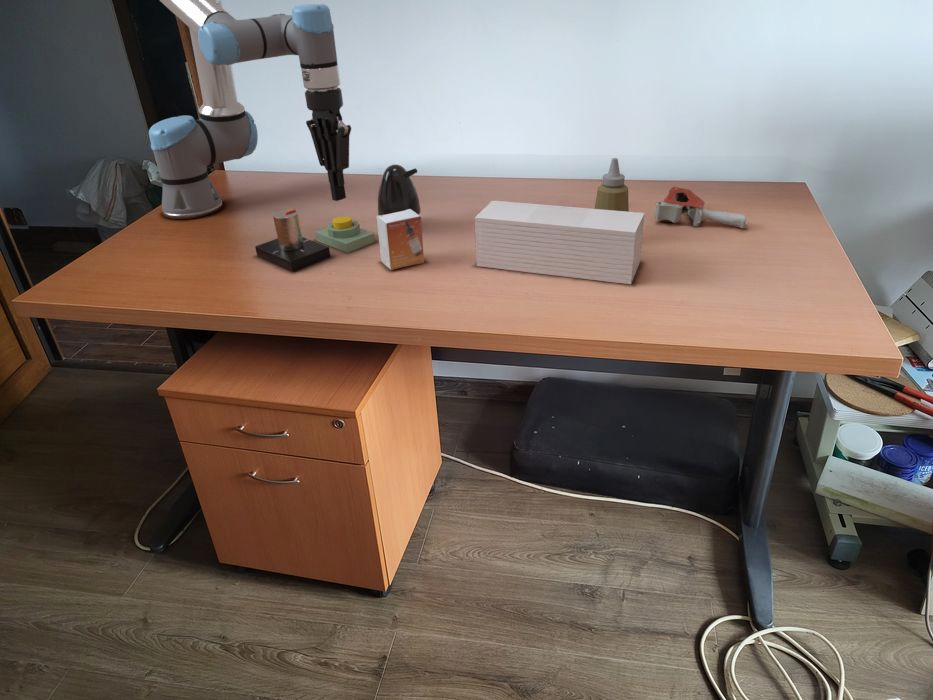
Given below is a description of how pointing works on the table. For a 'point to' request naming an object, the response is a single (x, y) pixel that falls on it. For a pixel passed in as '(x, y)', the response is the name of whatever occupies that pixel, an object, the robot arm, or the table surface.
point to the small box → (400, 239)
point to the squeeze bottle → (613, 190)
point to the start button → (342, 222)
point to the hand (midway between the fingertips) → (339, 198)
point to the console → (293, 254)
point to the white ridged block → (560, 240)
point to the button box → (345, 237)
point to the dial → (288, 230)
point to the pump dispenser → (397, 191)
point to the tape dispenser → (692, 209)
